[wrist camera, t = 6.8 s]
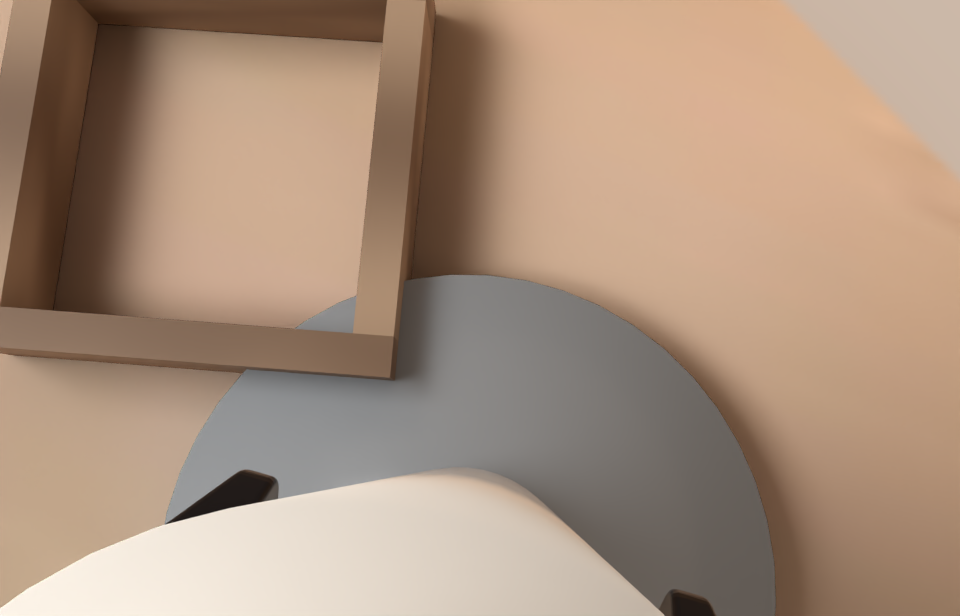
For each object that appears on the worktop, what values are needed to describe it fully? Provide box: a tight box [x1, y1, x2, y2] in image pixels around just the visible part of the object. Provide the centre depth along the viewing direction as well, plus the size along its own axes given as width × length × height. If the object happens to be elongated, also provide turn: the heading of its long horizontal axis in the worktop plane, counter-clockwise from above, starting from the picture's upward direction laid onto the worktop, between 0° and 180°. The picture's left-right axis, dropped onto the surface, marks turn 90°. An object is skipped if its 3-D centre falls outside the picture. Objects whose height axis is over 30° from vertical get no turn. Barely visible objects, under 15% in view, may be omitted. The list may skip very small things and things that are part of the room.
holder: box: [0, 0, 436, 381], centre depth 19 cm, size 9×9×2 cm
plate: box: [165, 275, 776, 616], centre depth 18 cm, size 12×12×1 cm
